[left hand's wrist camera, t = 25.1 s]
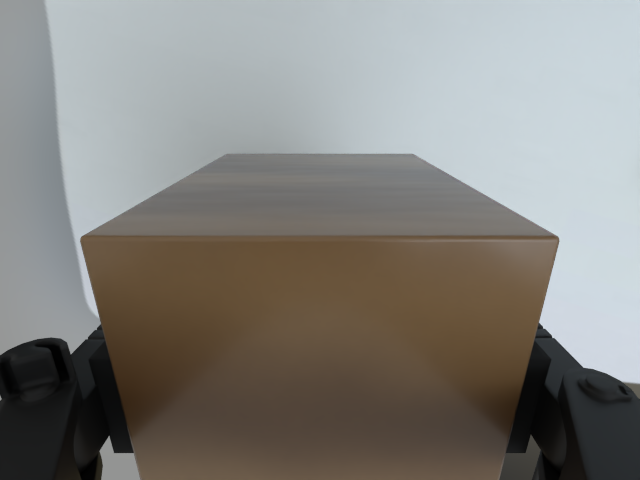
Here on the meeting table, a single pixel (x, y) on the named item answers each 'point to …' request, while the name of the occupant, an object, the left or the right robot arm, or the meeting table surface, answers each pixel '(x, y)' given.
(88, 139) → the meeting table surface
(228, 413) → the block
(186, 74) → the meeting table surface
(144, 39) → the meeting table surface
